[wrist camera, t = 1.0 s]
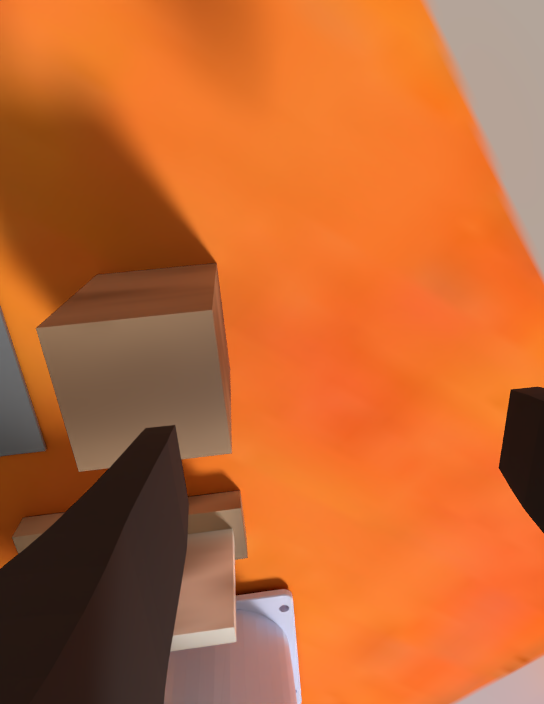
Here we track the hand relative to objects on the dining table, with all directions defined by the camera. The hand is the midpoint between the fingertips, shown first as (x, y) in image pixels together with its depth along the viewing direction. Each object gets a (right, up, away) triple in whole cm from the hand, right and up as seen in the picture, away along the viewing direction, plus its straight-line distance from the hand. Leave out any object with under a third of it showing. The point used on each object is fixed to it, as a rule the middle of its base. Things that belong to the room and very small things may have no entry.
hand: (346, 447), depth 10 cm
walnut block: (-6, +3, +8) cm, 11 cm away
